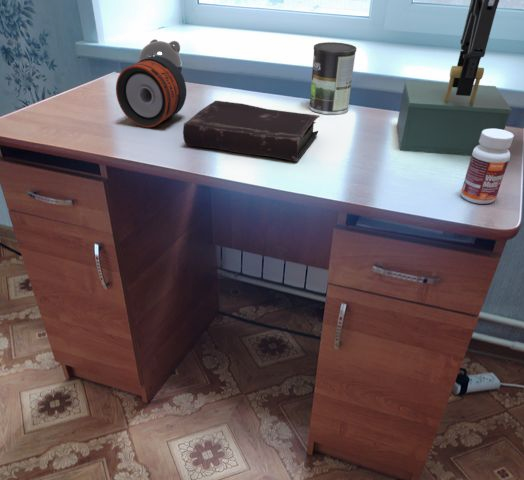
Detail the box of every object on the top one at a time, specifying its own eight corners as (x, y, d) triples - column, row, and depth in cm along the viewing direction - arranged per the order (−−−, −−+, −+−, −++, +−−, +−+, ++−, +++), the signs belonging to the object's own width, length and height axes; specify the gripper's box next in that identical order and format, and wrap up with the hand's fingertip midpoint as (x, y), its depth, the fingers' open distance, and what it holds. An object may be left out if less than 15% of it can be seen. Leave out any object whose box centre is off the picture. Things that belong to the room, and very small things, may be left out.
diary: (296, 164, 102) (298, 138, 99) (183, 147, 108) (181, 123, 104) (318, 135, 115) (320, 111, 112) (217, 121, 121) (216, 99, 118)
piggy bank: (191, 83, 146) (188, 38, 138) (171, 97, 135) (167, 48, 128) (155, 80, 148) (151, 35, 140) (133, 93, 137) (126, 45, 129)
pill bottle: (480, 207, 89) (502, 142, 81) (452, 195, 92) (471, 131, 85) (502, 199, 91) (525, 135, 84) (474, 187, 95) (493, 125, 88)
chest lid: (510, 113, 101) (524, 73, 96) (408, 106, 103) (417, 66, 98) (494, 89, 114) (505, 53, 109) (404, 84, 116) (411, 47, 111)
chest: (495, 157, 107) (509, 112, 101) (399, 150, 109) (408, 105, 103) (482, 131, 120) (494, 90, 114) (396, 125, 122) (404, 84, 116)
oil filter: (120, 124, 118) (110, 62, 109) (145, 110, 127) (138, 51, 118) (170, 131, 115) (164, 67, 106) (192, 116, 124) (188, 56, 115)
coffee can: (312, 115, 126) (317, 50, 117) (306, 102, 134) (310, 41, 125) (352, 114, 127) (360, 51, 118) (344, 102, 135) (351, 42, 126)
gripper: (468, -59, 94) (437, 78, 110) (485, -53, 81) (447, 102, 96) (509, -57, 94) (472, 80, 109) (534, -52, 80) (488, 105, 95)
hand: (461, 90), depth 103 cm, fingers open, 5 cm apart
